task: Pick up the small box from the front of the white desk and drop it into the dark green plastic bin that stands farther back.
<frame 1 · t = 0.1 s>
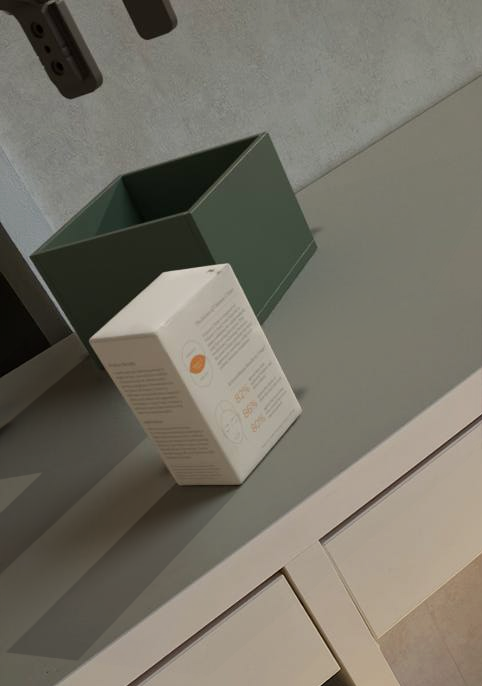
hand: (125, 62, 53), 22 cm above the table, tool pointing down, fingers open, 8 cm apart
small box: (243, 452, 68), on the table
bin: (210, 307, 89), on the table
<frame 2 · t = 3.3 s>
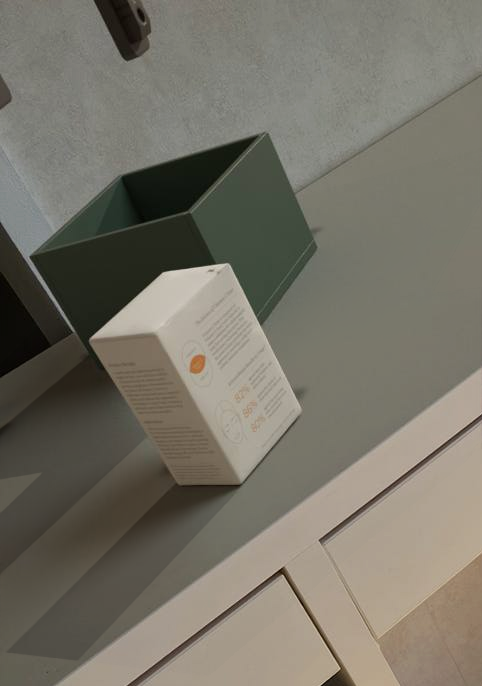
hand: (67, 82, 53), 22 cm above the table, tool pointing down, fingers open, 8 cm apart
nothing on the table moved.
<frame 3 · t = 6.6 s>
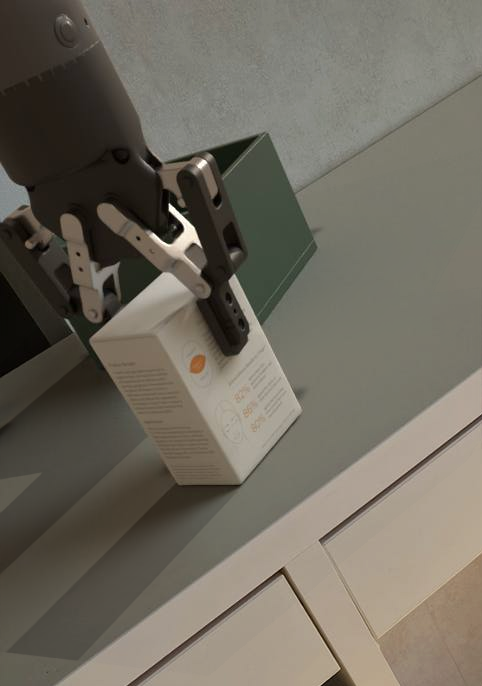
hand: (191, 358, 63), 7 cm above the table, tool pointing down, fingers closed on small box, 6 cm apart
small box: (243, 452, 68), on the table, touching gripper
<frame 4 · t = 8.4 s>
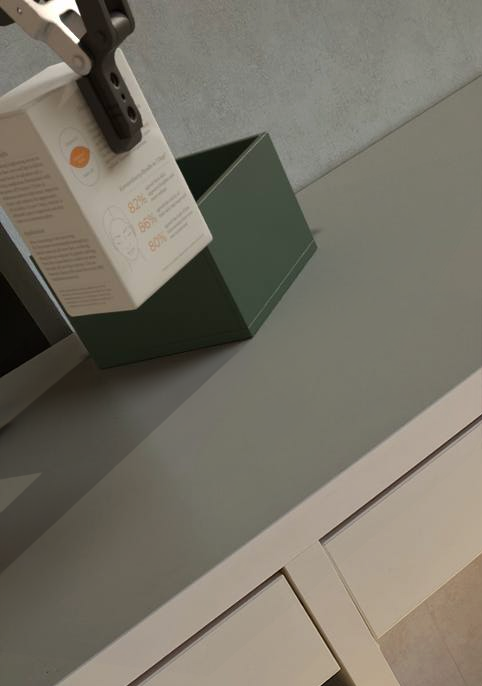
hand: (78, 161, 56), 18 cm above the table, tool pointing down, fingers closed on small box, 6 cm apart
small box: (144, 282, 60), point 12 cm above the table, touching gripper
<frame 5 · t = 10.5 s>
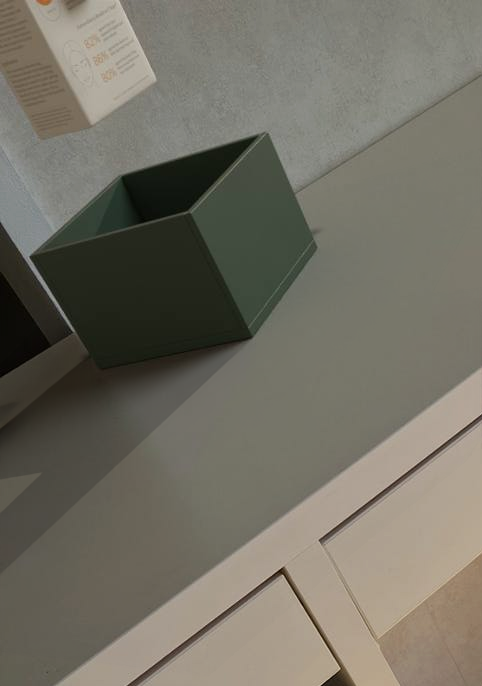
small box: (101, 114, 74), point 17 cm above the table, touching gripper
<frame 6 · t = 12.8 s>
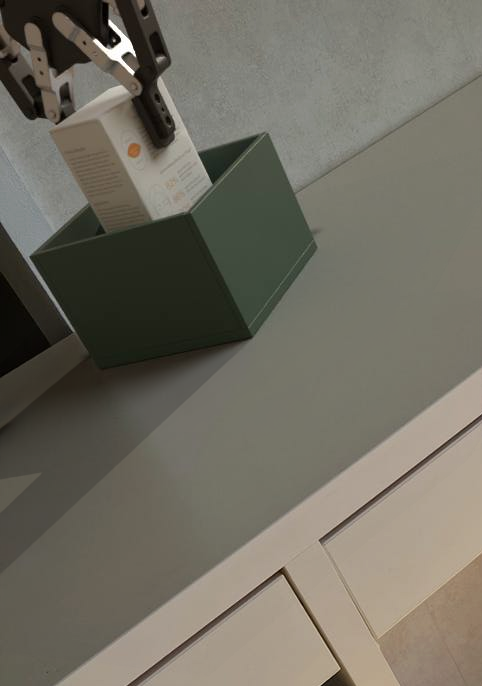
hand: (131, 154, 80), 13 cm above the table, tool pointing down, fingers closed on small box, 6 cm apart
small box: (176, 240, 85), point 6 cm above the table, touching gripper
when the fingers open (9 cm above the table, at t = 14.6 s): small box drops 1 cm, resting on bin.
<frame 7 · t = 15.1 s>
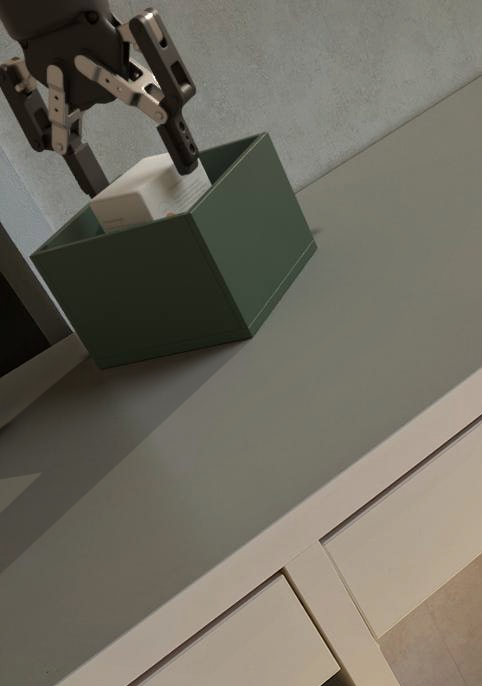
hand: (145, 184, 82), 10 cm above the table, tool pointing down, fingers open, 8 cm apart
small box: (206, 300, 88), point 1 cm above the table, touching bin
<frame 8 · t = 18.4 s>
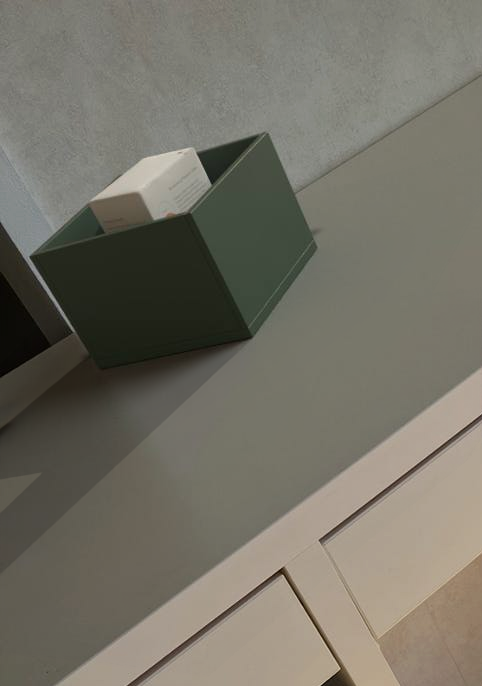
nothing on the table moved.
at the end: small box inside the target area in the bin (0.0 cm from its centre), point 0.6 cm above the bin's base; the gripper is holding nothing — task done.
